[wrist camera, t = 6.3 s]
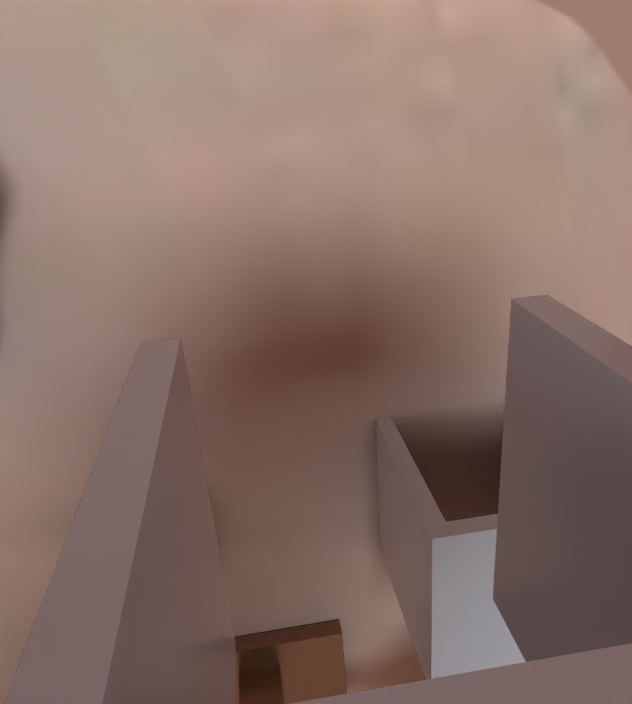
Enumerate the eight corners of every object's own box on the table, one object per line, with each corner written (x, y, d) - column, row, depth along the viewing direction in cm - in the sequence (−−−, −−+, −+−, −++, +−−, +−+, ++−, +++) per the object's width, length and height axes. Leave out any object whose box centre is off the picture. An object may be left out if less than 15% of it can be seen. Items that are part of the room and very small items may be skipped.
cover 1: (204, 645, 15) (173, 1280, 7) (140, 342, 12) (-69, 892, 4) (520, 593, 16) (823, 1109, 8) (547, 294, 13) (1140, 655, 4)
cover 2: (380, 550, 33) (431, 697, 25) (375, 418, 30) (432, 539, 22) (525, 527, 34) (619, 661, 26) (536, 396, 31) (649, 504, 22)
